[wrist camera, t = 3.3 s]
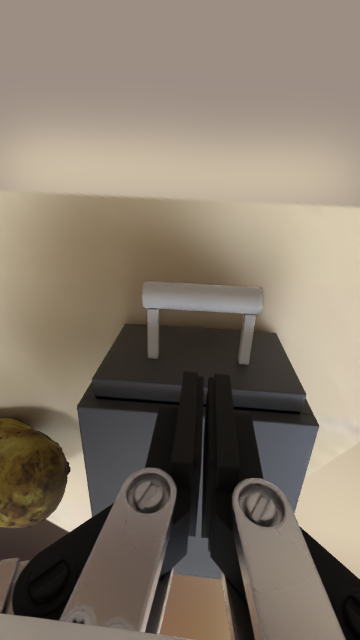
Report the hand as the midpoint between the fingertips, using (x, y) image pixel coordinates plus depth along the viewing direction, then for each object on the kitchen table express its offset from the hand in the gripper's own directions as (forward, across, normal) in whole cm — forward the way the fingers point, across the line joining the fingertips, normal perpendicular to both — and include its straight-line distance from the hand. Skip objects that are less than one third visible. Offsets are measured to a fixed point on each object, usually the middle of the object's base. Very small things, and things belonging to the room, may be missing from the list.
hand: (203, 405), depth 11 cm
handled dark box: (+11, 0, +7) cm, 13 cm away
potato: (+12, +17, +16) cm, 26 cm away
